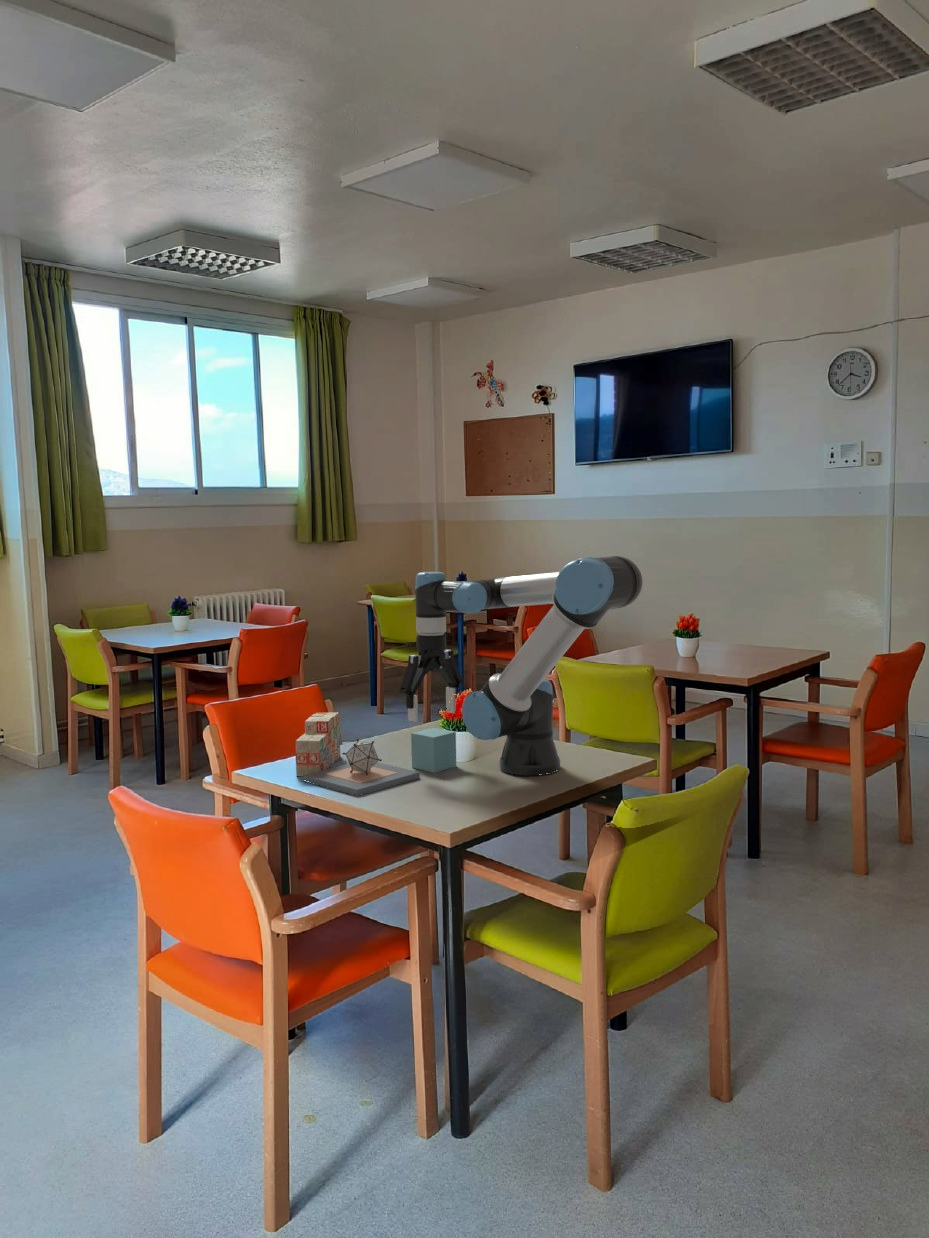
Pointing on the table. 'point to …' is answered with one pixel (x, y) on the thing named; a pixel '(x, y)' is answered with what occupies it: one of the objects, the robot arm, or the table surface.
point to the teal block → (433, 749)
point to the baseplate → (361, 778)
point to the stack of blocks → (318, 743)
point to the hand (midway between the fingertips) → (432, 716)
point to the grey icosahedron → (362, 757)
